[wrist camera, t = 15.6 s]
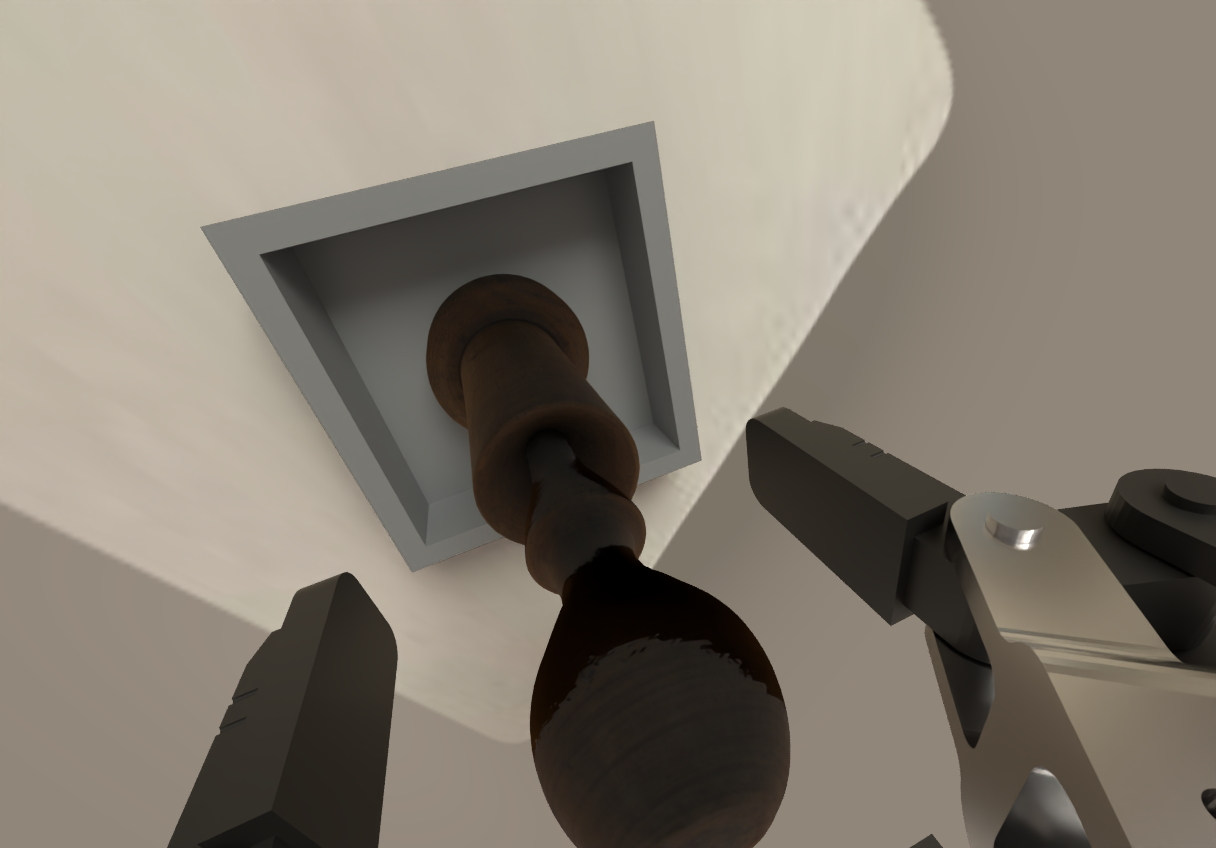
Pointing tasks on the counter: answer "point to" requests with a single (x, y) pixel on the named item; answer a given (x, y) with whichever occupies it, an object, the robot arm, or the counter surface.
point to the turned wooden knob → (606, 595)
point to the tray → (431, 271)
